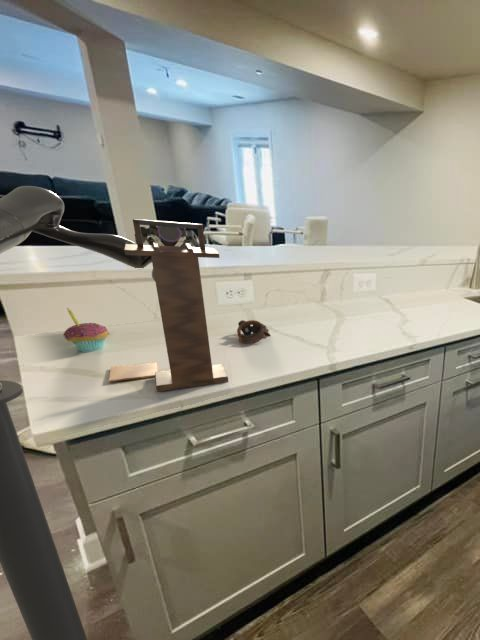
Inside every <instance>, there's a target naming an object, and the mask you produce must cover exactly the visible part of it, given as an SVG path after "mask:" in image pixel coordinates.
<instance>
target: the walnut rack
mask: <svg viewBox="0 0 480 640" xmlns="http://www.w3.org/2000/svg"><path fill="white" fill-rule="evenodd" d="M166 221H167V220H151V219H139V218H138V219H137V218H132V224H133V229H134V237H135V236H136V241H137V245H136V244H125V249H124V251H125V255H145V256H151V258H152V263H151V264H152V270H154V276H155V281H154V283H155V287H156V294H157V297H158V298H157V299H158V304H159V305H158V306H159V311H160V312H159V313H160V318H161V322H162V328H163V334H164V339H165V347H166V352H167V358H168V364H169V369H166V370H158V371H157V372H155V377H154V378H155V386H156V391H157V392H163V391H171V390H179V389H184V388H185V389H186V388H193V387H201V386H208V385H214V384H223V383H228V382H229V376H228V374H227V372H226V370H225V367H224V365H223V363H220V364H213V363H212V355H211V347H210V339H209V331H208V323H207V316H206V308H205V301H204V300H205V299H204V293H203V285H202V276H201V270H200V261H199V258H206V259H207V258H209V259H210V258H212V259H220V258H221V257H220V253H219V252H218V251H217V249H215V248H214V247H206V241H205V233H204V225H203V223H193V222H192V223H191V222H178V221H168V222H166ZM149 225H150V226H164V227H178V228H185V229H195V230H197V234H198V235H197V237H198V238H199V245H200V247H195V246H192V245H190V244H189V243H185V246H186V247H179V246H158V242H153V245H149V244H144V243H143V240H142V234H141V228H140V227H141V226H149ZM136 241H135V242H136Z"/></svg>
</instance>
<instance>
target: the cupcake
mask: <svg viewBox="0 0 480 640" xmlns="http://www.w3.org/2000/svg"><path fill="white" fill-rule="evenodd" d="M66 310H67V312H68V314H69V316H70V318H71V320H72V321H73V323H74V325H71V326H69V327H68V328H67V329H65V330H64V332H63V333H62V335H63V337H64V339H65V340H66V341H68V342H71V343H72V344H73V346H75V347H76V349H77V350H78V351H79V352H82V353H89V352H96V351H99V350H102V349H103V348H104V344H105V340H106V339H107V337H109V335H110V331H109V330H108V328H107V327H106V326H104V325H102V324H99V323H95V322H83V323H79V321H78V320H77V318H76V316H75V314H74V312H73V311H72V310H71V309H69V307H66Z"/></svg>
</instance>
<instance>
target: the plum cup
mask: <svg viewBox="0 0 480 640" xmlns="http://www.w3.org/2000/svg"><path fill="white" fill-rule="evenodd" d="M165 221H166V222H169V221H168V220H165ZM157 232H158V234H159V236H160V237H161V238H162V239H163V240H165V241H168V242H175V241H178V240H179V239H180V238H181V230H180V229H179V228H178V227H164V226H157Z"/></svg>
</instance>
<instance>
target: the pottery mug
mask: <svg viewBox="0 0 480 640" xmlns="http://www.w3.org/2000/svg"><path fill="white" fill-rule="evenodd" d="M237 325H238V327H237V329H236V333H237V337H238V340H237V341H238V342H239V343H240V344H243V345H248V344H249V345H251V344H255V343H256V342H260V341H262V339H267V337H266V336H269V337H271V334H270V332H269V331H270V330H269V329H268V328H267V325H265V324H263V323H261V321H259V320H254V319H250V320H240V321H239V322H238V323H237ZM251 334H252V335H251Z"/></svg>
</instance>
